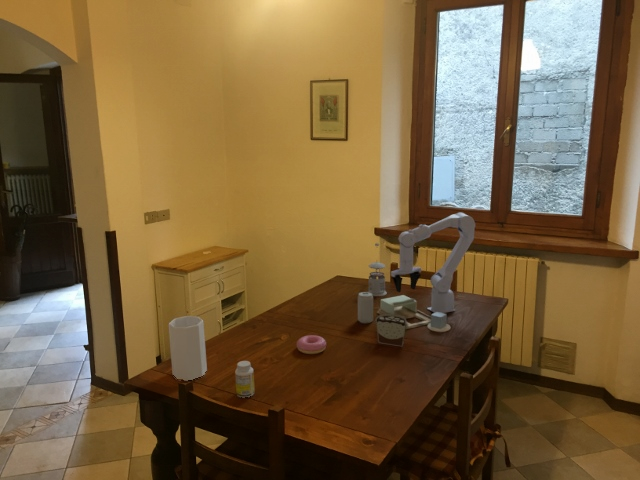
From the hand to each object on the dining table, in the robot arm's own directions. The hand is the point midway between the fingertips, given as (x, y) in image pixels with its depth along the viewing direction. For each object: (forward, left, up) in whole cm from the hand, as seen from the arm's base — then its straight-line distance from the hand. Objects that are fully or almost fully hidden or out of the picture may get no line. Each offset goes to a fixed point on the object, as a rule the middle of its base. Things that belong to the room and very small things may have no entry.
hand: (405, 290), depth 225 cm
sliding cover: (+4, 0, -9) cm, 10 cm away
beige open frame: (+4, +6, -10) cm, 12 cm away
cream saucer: (-1, +21, -10) cm, 24 cm away
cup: (+97, +13, -10) cm, 98 cm away
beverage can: (+21, +1, -10) cm, 23 cm away
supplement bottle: (+85, +35, -10) cm, 92 cm away
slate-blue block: (-1, +21, -9) cm, 23 cm away
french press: (-4, -29, -10) cm, 31 cm away
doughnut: (+53, +15, -10) cm, 56 cm away
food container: (+23, +24, -10) cm, 35 cm away
